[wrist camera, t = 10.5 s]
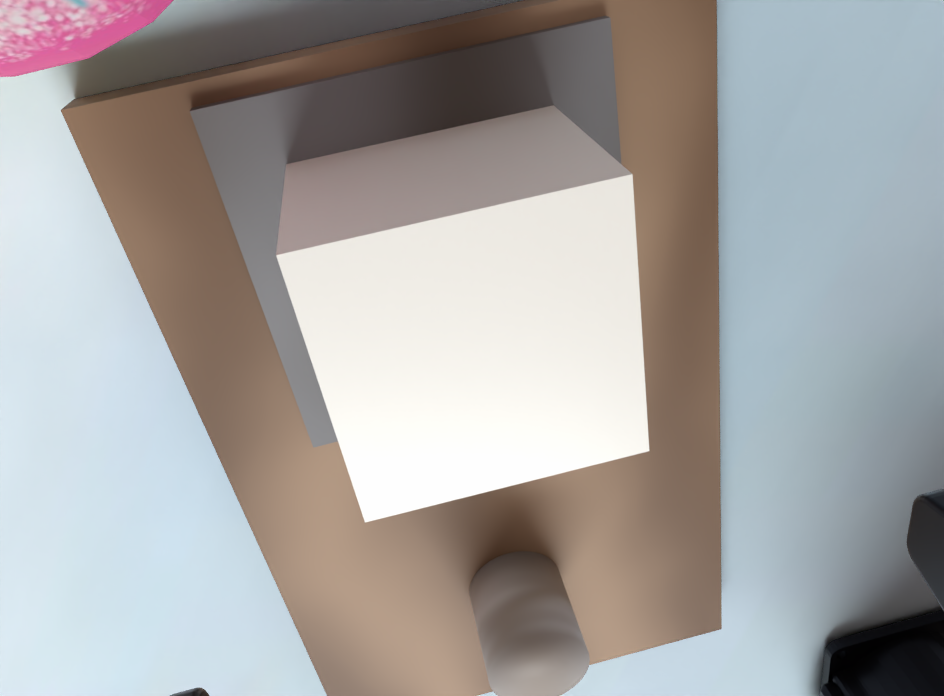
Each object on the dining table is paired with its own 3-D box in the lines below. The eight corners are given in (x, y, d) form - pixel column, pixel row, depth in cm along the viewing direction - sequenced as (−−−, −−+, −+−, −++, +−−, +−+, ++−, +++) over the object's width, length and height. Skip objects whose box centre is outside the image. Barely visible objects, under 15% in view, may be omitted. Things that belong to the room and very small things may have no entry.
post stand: (696, -38, 17) (795, -22, 14) (709, 607, 29) (765, 708, 25) (73, 99, 16) (7, 154, 13) (342, 706, 28) (346, 824, 24)
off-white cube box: (553, 105, 17) (632, 173, 13) (578, 334, 20) (649, 451, 16) (285, 164, 17) (275, 254, 12) (354, 388, 20) (365, 522, 16)
